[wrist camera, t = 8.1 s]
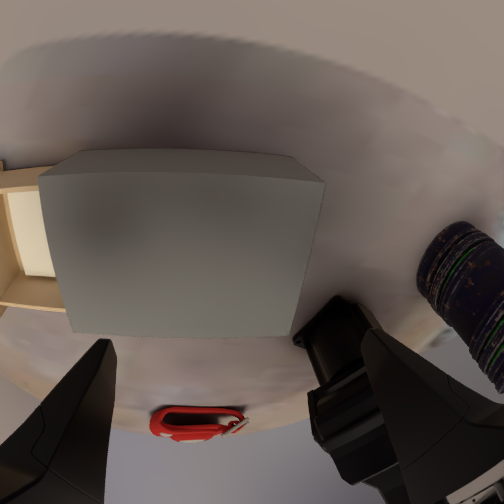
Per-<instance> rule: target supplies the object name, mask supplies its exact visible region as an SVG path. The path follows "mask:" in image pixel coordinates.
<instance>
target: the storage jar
mask: <svg viewBox="0 0 504 504" xmlns="http://www.w3.org/2000/svg"><path fill="white" fill-rule="evenodd" d="M417 287H418V290H419V292H420V293H421V294H422V295H423V296H424V297H425V298H426V299H427V301H428V302H429V303H430V304H431V307H432V308H433V310H434V311H435V312H436V313H437V314H438V315H439V316H440V317H441V318H442V319H443V320H444V321H445V322H446V324H447V325H449V326H450V327H453V328H454V330H455V331H456V332H457V333H458V335H459V336H460V337H461V338H462V340H463V341H464V342H465V343H466V344H467V346H468V347H469V352H470V354H471V355H472V358H473V359H474V360H476V362H477V363H478V364H479V368H480V369H481V370H482V372H483V373H484V374H485V375H487V376H488V378H489V380H490V381H491V382H492V383H494V384H495V388H496V390H497V391H498V393H499V394H502V393H504V249H503V248H502V247H501V246H499V245H498V244H497V243H496V242H495V241H494V240H493V239H492V238H491V237H489V236H488V235H487V234H485V233H482V232H481V231H479V230H478V229H476V228H475V227H474V226H472V225H471V224H469V223H468V222H464V221H461V222H456V223H453V224H451V225H449V226H448V227H446V228H445V229H444V230H443V231H441V232H440V233H439V234H438V235H437V236H436V237H435V239H434V240H433V241H432V242H431V244H430V245H429V247H428V248H427V250H426V252H425V253H424V255H423V257H422V260H421V262H420V265H419V268H418V272H417Z"/></svg>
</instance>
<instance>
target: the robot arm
mask: <svg viewBox="0 0 504 504" xmlns="http://www.w3.org/2000/svg"><path fill="white" fill-rule="evenodd" d="M337 301H338V302H337ZM298 340H299V341H298ZM293 343H294V345H296V346H298V347H301V348H304V349H306V351H307V354H308V356H309V359H310V362H311V364H312V367H313V369H314V372H315V374H316V377H317V379H318V382H319V385H320V387H318V388H317V389H315V390H311V391H310V392H308V393H307V396H308V407H309V414H310V422H311V430H312V435H313V436H314V440H315V441H316V442H317V443H318V444H319V445H320V446H321V448H322V449H323V450H324V451H325V452H327V453H328V454H330V456H331V457H332V459H333V461H334V463H335V465H336V467H337V469H338V471H339V473H340V476H341V477H342V479H343V480H345V481H346V482H347V483H349V484H350V485H355V484H358V483H360V482H362V483H364V484H367V485H369V486H372V487H374V488H376V489H378V491H379V492H380V494H381V496H382V497H383V499H384V501H385V503H386V504H504V404H499V403H496V402H493V401H491V400H489V399H488V398H486V397H484V396H482V395H480V394H478V393H477V392H475V391H473V390H472V389H470V388H468V387H466V386H464V385H463V384H461V383H460V382H458V381H457V380H455V379H454V378H452V377H451V376H449V375H447V374H446V373H445V372H443V371H442V370H440V369H439V368H438V367H436V366H434V365H433V364H432V363H430V362H429V361H427V360H426V359H424V358H423V357H421V356H420V355H418V354H417V353H415V352H414V351H412V350H411V349H409V348H408V347H406V346H405V345H403V344H402V343H401V342H399V341H398V340H396V339H395V338H393V337H392V336H390V335H389V334H387V333H386V332H384V330H383V329H382V327H381V326H380V324H379V323H378V321H377V320H376V318H375V317H374V315H373V314H372V312H371V311H370V310H368V309H367V308H365V307H363V306H362V305H360V304H358V303H354V304H353V303H351V302H350V301H348V300H346V299H345V298H343V297H341V296H336V297H334V298H333V299H332V300H331V301H330V302H329V303H328V304H327V305H326V306H325V307H324V308H323V309H322V310H321V311H320V312H319V313H318V314H317V315H316V316H315V317H314V318H313V319H312V320H311V321H310V322H309V323H308V324H307V325H306V326H305V327H304V328H303V329H302V330H301V331H300V332H299V333H298V334H297V335H296V336H295V337H294V338H293ZM116 369H117V356H116V353H115V350H114V346H113V343H112V341H111V340H110V339H102V338H100V339H98V340H97V341H96V342H95V343H94V344H93V345H92V347H91V348H90V349H89V350H88V351H87V352H86V353H85V354H84V355H83V356H82V357H81V358H80V359H79V361H78V362H77V363H76V364H75V365H74V366H73V367H72V368H71V369H70V370H69V372H68V373H67V374H66V375H65V376H64V377H63V378H62V379H61V381H60V382H59V383H58V384H57V385H56V386H55V387H54V388H53V390H52V391H51V392H50V393H49V394H48V395H47V396H46V398H45V399H44V400H43V401H42V402H41V404H40V405H39V406H38V407H37V408H36V409H35V410H34V412H33V413H32V414H31V415H30V416H29V417H28V418H27V419H26V420H25V422H24V423H23V424H22V425H21V426H20V427H19V428H18V429H17V430H16V431H15V432H14V433H13V434H12V435H10V436H9V437H8V438H7V439H6V440H5V441H4V442H3V443H2V444H1V445H0V504H104V493H105V478H106V465H107V455H108V454H107V453H108V446H109V437H110V430H111V422H112V415H113V409H114V401H115V384H116Z"/></svg>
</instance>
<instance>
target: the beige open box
mask: <svg viewBox="0 0 504 504" xmlns="http://www.w3.org/2000/svg"><path fill="white" fill-rule="evenodd" d="M52 167H53V166H47V167H36V168H26V169H17V170H9V171H3V162H2V161H0V318H1V317H2V315H3V313H4V312H5V310H6V308H7V307H8V306H13V307H21V308H29V309H38V310H47V311H57V312H66V310H65V307H64V303H63V300H62V297H61V294H60V290H59V287H58V283H57V280H56V276H55V272H54V268H53V264H52V260H51V256H50V251H49V247H48V242H47V237H46V232H45V227H44V221H43V216H42V209H41V203H40V195H39V187H38V178H37V176H39V175H40V174H42V173H44V172H45V171H47V170H48V169H50V168H52Z"/></svg>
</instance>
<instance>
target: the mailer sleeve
mask: <svg viewBox="0 0 504 504" xmlns="http://www.w3.org/2000/svg"><path fill="white" fill-rule="evenodd" d="M37 178H38V187H39V195H40V203H41V209H42V216H43V221H44V227H45V232H46V237H47V242H48V247H49V251H50V256H51V260H52V264H53V268H54V272H55V276H56V280H57V283H58V287H59V290H60V294H61V297H62V300H63V303H64V307H65V310H66V313H67V316H68V319H69V322H70V324H71V327H72V330H73V332H79V333H90V334H102V335H116V336H133V337H157V338H246V337H271V336H288V335H289V333H290V329H291V325H292V322H293V318H294V315H295V311H296V307H297V304H298V300H299V296H300V292H301V288H302V284H303V281H304V277H305V273H306V269H307V265H308V261H309V256H310V252H311V248H312V244H313V240H314V235H315V231H316V227H317V222H318V218H319V213H320V209H321V204H322V199H323V195H324V190H325V185H326V183H325V182H324V181H323V180H321V179H320V178H319V177H317V176H316V175H315V174H314V173H312V172H311V171H310V170H308V169H307V168H306V167H304V166H303V165H302V164H300V163H299V162H298V161H296V160H295V159H293V158H292V157H290V156H281V155H272V154H262V153H250V152H237V151H222V150H203V149H167V148H139V149H104V150H86V151H79V152H77V153H76V154H74V155H72V156H70V157H69V158H67V159H65V160H63V161H62V162H60V163H58V164H57V165H55V166H53V167H52V168H50V169H48V170H47V171H45V172H44V173H42V174H40V175H39V176H37Z"/></svg>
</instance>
